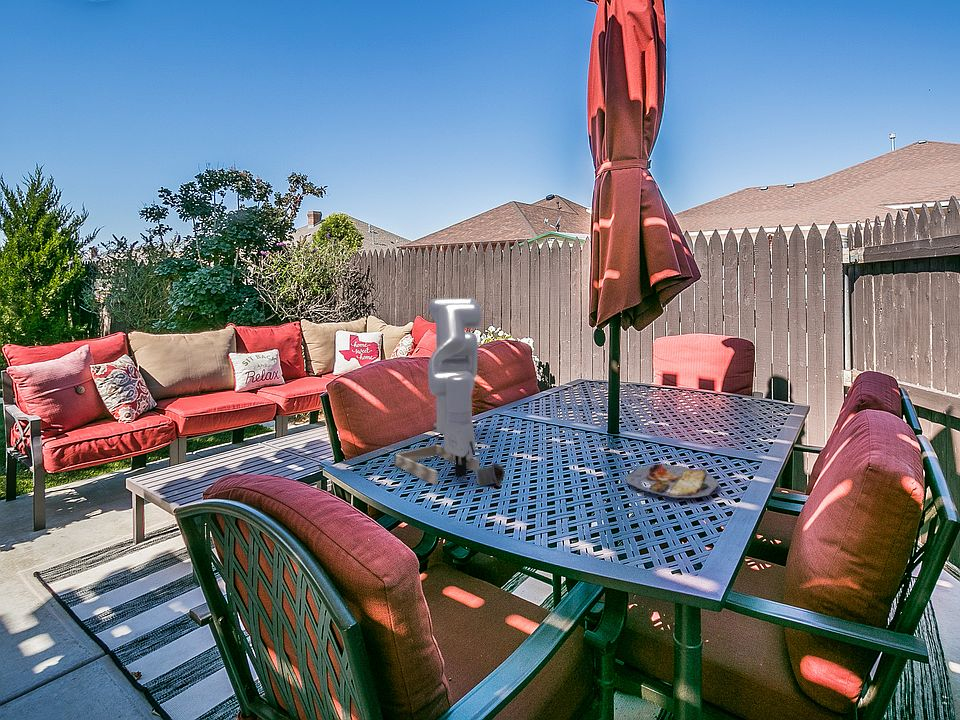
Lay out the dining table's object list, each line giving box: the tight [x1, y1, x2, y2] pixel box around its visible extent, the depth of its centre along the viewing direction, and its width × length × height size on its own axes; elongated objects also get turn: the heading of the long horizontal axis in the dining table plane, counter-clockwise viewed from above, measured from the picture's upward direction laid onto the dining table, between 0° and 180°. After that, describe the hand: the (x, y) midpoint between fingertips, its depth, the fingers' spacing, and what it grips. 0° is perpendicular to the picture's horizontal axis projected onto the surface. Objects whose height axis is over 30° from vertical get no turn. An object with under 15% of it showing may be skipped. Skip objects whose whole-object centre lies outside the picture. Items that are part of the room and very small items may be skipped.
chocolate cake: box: [474, 461, 506, 488], centre depth 151 cm, size 10×7×12 cm
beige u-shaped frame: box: [393, 444, 480, 486], centre depth 164 cm, size 23×17×4 cm
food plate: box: [625, 462, 720, 500], centre depth 145 cm, size 25×23×4 cm
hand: (461, 475), depth 154 cm, fingers closed
